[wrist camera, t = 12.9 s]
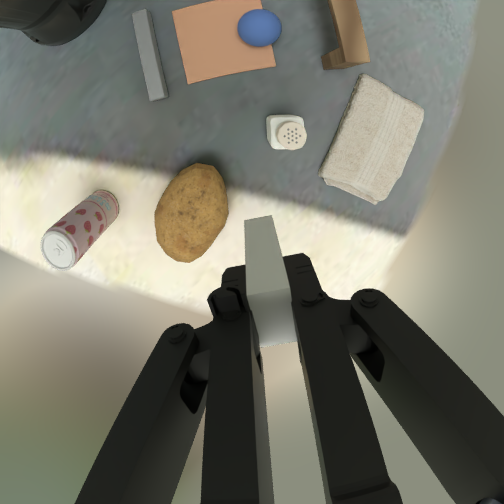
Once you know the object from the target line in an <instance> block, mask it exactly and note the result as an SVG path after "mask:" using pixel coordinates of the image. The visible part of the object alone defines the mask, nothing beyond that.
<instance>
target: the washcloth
mask: <svg viewBox="0 0 504 504" xmlns="http://www.w3.org/2000/svg"><path fill="white" fill-rule="evenodd" d="M423 118H424V109H423V108H421V107H420V106H419V105H417V104H416V103H414V102H413V101H411V100H408V99H406V98H403V97H401V96H400V95H398V94H396V93H395V92H392V90H391V88H389V87H388V86H386V85H384V83H381V82H380V81H378V80H376V79H373V78H372V77H370V76H368V75H366V74H361V75H360V74H359V78H358V80H357V83H356V86H355V87H354V91H353V92H352V96H351V99H350V101H349V103H348V106H347V108H346V110H345V112H344V116H343V117H342V119H341V122H340V124H339V127H338V131H337V133H336V135H335V137H334V139H333V143H332V144H331V147H330V149H329V152H328V153H327V155H326V157H325V159H324V162H323V163H322V166H321V168H320V169H319V173H318V175H319V176H320V177H322V178H324V181H325V183H326V184H327V185H330V186H335V187H338V188H340V189H342V190H344V191H347V192H349V193H351V194H353V195H355V196H358V197H360V198H362V199H364V200H366V201H368V202H370V203H372V204H374V205H376V204H377V203H378V201H383V200H385V199H386V198H387V196H388V194H389V193H390V191H391V189H392V187H393V185H394V184H395V183H396V181H397V179H398V178H400V177H401V175H402V172H403V168H404V166H405V164H406V161H407V159H408V157H409V155H410V153H411V150H412V148H413V145H414V143H415V139H416V137H417V134H418V132H419V129H420V127H421V125H422V122H423Z"/></svg>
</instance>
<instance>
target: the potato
mask: <svg viewBox="0 0 504 504" xmlns="http://www.w3.org/2000/svg"><path fill="white" fill-rule="evenodd" d="M228 213H229V212H228V203H227V195H226V188H225V185H224V182H223V178H222V177H221V175H220V174H219V173H218V171H217V170H216V169H215V168H214V166H210V165H205V164H200V163H196V164H193V165H191V166H189V167H187V168H185V169H183V170H182V171H180V172H179V174H178V175H177V176H176V177H175V178H174V179H173V180H172V181H171V182H170V184H169V185H168V187H167V188H166V190H165V191H164V193H163V195H162V197H161V199H160V201H159V203H158V205H157V208H156V210H155V228H156V236H157V241H158V243H159V244H160V246H161V247H162V249H163V250H164V252H165V253H166V254H167V255H168V256H170V257H171V258H173V259H174V260H176V261H179V262H187V263H190V262H192V261H194V260H195V259H197V258H199V257H201V256H202V255H203V254H204V253H205V252H206V251H207V249H208V248H209V247H210V246H211V245H212V243H213V242H214V240H215V239H216V237H217V236H218V234H219V233H220V232H221V230H222V229H223V228H224V226H225V223H226V220H227V217H228Z"/></svg>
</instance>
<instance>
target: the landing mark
mask: <svg viewBox="0 0 504 504" xmlns="http://www.w3.org/2000/svg"><path fill="white" fill-rule="evenodd" d="M254 9H263V8H262V4H261V1H260V0H214V1H210V2H205V3H201V4H197V5H193V6H189V7H186V8H182V9H178V10H175V11H172V14H173V19H174V24H175V28H176V33H177V37H178V42H179V47H180V51H181V56H182V60H183V64H184V69H185V73H186V78H187V82H188V84H191V83H195V82H199V81H203V80H207V79H211V78H215V77H220V76H224V75H229V74H234V73H239V72H244V71H250V70H256V69H262V68H268V67H275V66H276V63H275V59H274V54H273V50H272V45H271V44H270V45H268V46H263V47H256V46H252V45H249V44H247V43H245V42H244V41H243V40H242V39H241V38H240V36H239V34H238V31H237V25H238V22H239V19H240V18H241V17H242V16H243V15H244V14H245V13H246V12H248V11H251V10H254Z"/></svg>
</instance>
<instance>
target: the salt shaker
mask: <svg viewBox="0 0 504 504" xmlns="http://www.w3.org/2000/svg"><path fill="white" fill-rule="evenodd" d="M266 125H267V140H268V142H269V143H270V145H271V146H272V148H274V149H289V150H296V149H299V148H301V147H303V145H304V144H305V142H306V138H307V134H306V131H305V128H304V121H303V119H302V118H301V117H299V116H295V115H270V116H268V117H267V119H266Z"/></svg>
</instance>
